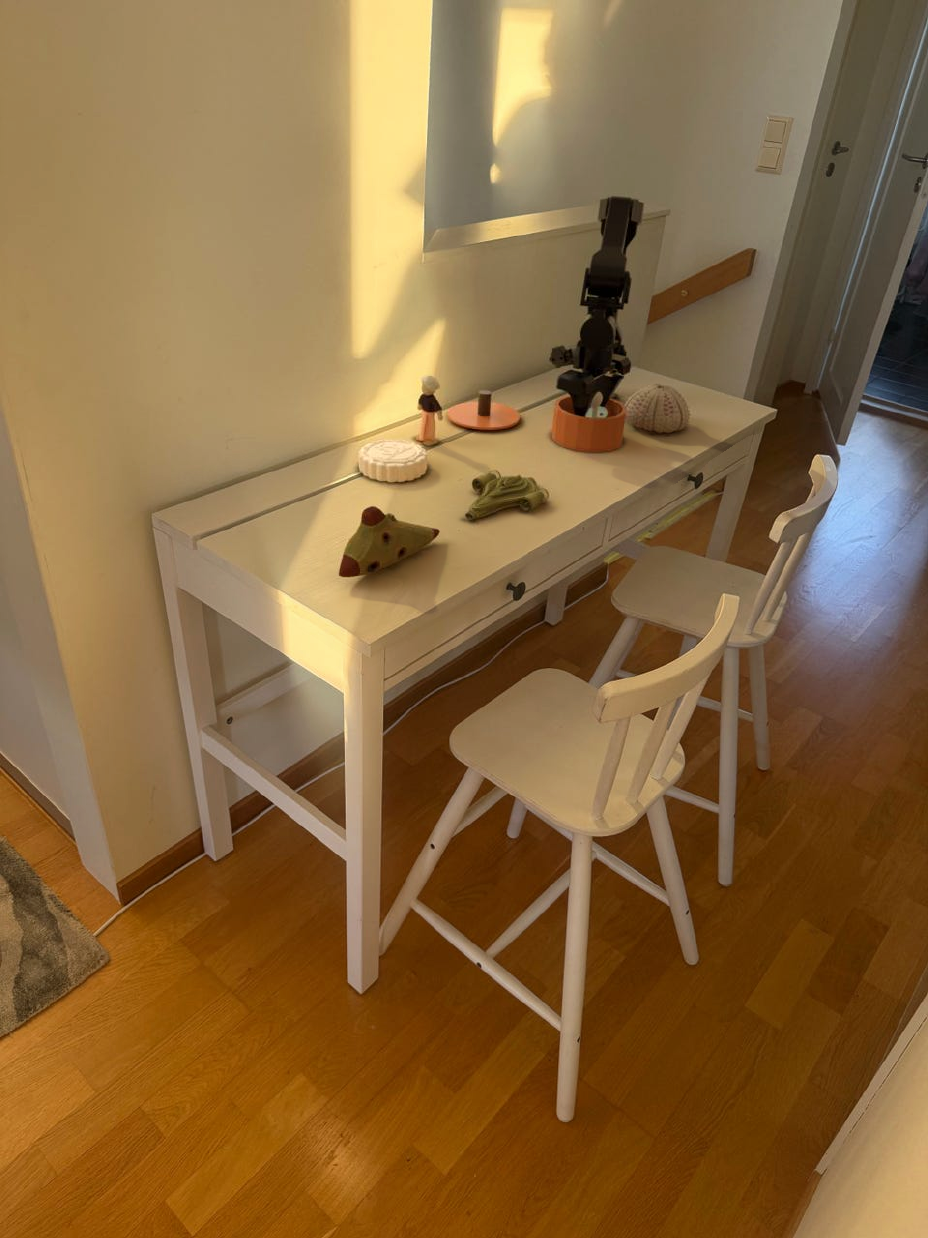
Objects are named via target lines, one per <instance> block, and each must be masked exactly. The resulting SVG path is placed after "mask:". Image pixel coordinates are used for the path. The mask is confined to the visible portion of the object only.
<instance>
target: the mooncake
mask: <svg viewBox="0 0 928 1238" xmlns="http://www.w3.org/2000/svg"><path fill="white" fill-rule="evenodd" d="M358 467H359V471H360V472H361V474H362V475H363V476H365V477H368V478H369V479H371V480H377V481H378V482H388V483H396V482H398V483H403V482H405V481H409V482H410V481H413V480H415V479H419V478H421V476H422V475H425V474H426V471H427V470H428V453H427V449H425V448H423V446H421V445H420V444H417V443H415V442H413V441H407V440H405V439H380V440H373V441H372V442H369V443H367V444H365V446H364V445H363V446H362V447H361V448H360V450H359V451H358Z"/></svg>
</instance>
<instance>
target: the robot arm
mask: <svg viewBox="0 0 928 1238" xmlns="http://www.w3.org/2000/svg"><path fill="white" fill-rule="evenodd" d="M598 206H599V207H598V213H597V214H598V215H597V222H598V223H600V235H601V243H600V248H599V250H597V251H596V252H595V253H593V254H592V256H591V259H590V263H589V267H587V266H586V267H585V270H584V277H583V282H582V289H581V295H580V303H579V306H581V307H586V310H585V311H586V312H585V317H584V320H583V321H582V324H581V327H580V329H579V338H580V339H578V341H577V342H576V344H573V345H567V346H565V345H563V344H562V345H559V346H558V345H557V346H554V347H551V351H550V353H549V354H550V355H549V362H550V363H551V364H552V365H553V366H554V367H555V369H560V368H561V367H569V366H572V368H573V369H569V370H566V371H564V372H562V373H561V374H559V375H558V376H557V377H556V381H555V383H556V384H555V389H556V390H559V391H563V392H565V393H567V394H568V395H570V396H571V399H572V403H573V407H574V412H575V415H578V416H582V417H585V416H586V414H587V412H588V410H589V407H590V405H591V403H592V400H593V398H594V396H595V395H596V394H597V393H598V392H601V394H602V396H603V399H602V402H601V404H600V405H599V406H601V407H605V405H606V404H607V402H608V401H609V399H610V398H611V399H615V398H617V397H618V395H619V394H618V393H616V390H617V389H618V387H619V386H620V384H621V382H622V381H623V380H624V379H625V375H627V374H629V373H631V369H632V368H631V367H632V362H631V360H630V358H629V357H628V356H627V354H628V353H627V351H626V348H625V344H623V343H622V341H623V332H622V330H621V328H620V325H619V322H618V318H619V310H621V311H623V310H624V308H625V304H626V305H628V304H629V298H630V292H631V286H632V281H633V280H632V277H631V272H630V271H629V270H627V264H628V257H627V250H628V247H629V245H630V244H631V243H632V241H633V240H634V239H635V237H636V236H637V234H638V229H639V228H638V227H639V226H642V225H643V224H642V223H643V219H644V217H643V216H644V209H645V203H644V202H641V201H640V199H639V198H633V197H631V196H622V195H621V196H619V195H611V196H607V198H602V199H600V200H599V205H598ZM586 295H587V296H586ZM579 370H581V371H579Z"/></svg>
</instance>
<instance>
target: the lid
mask: <svg viewBox="0 0 928 1238" xmlns="http://www.w3.org/2000/svg"><path fill="white" fill-rule="evenodd" d="M492 393H493V392H492V391H491V390H487V389H482V390H478V394H477V395H478V397H477V401H466V402H462V403H458V404H455V405H452V406H451V407H450V408H449V409H448V411H447V418H448V420H449V421H451V422H452V423H453V424H455V425H458V426H460V427H464V428H468V429H474V430H485V431H492V430H495V431H496V430H502V429H507V428H511V427H513V426H516V425H517V424H518V423H519V422H520V421H521V415H520V412H519V411H517V410H516V409H515V408H513V407H511V406H509V405H506V404H502V403H498V402H492V396H493V395H492Z"/></svg>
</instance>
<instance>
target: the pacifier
mask: <svg viewBox="0 0 928 1238" xmlns="http://www.w3.org/2000/svg"><path fill="white" fill-rule="evenodd" d="M602 399H603V396H602V394H601V392H598V393H597V394H596V395H595V397H594V398H593V400H592V403H591V408H589V410H588V412H587V414H586V416H585V417H591V418H606V417H607V415H608V411H607V409H606V408H605V407H601V406H599V405H600V404H601V402H602ZM600 414H603V415H602V416H600Z"/></svg>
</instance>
